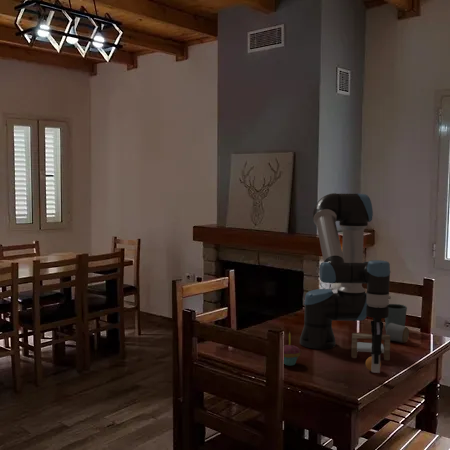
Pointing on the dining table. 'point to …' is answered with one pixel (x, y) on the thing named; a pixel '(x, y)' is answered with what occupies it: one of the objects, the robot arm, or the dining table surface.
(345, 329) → the dining table surface
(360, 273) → the robot arm
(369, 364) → the ball
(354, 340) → the bridge
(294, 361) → the cupcake
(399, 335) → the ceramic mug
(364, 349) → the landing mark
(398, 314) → the grey green cup
